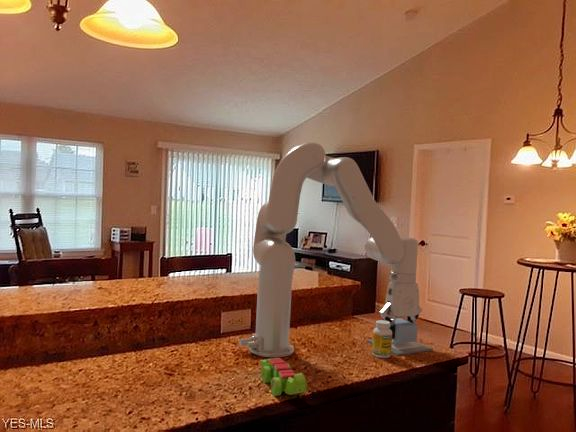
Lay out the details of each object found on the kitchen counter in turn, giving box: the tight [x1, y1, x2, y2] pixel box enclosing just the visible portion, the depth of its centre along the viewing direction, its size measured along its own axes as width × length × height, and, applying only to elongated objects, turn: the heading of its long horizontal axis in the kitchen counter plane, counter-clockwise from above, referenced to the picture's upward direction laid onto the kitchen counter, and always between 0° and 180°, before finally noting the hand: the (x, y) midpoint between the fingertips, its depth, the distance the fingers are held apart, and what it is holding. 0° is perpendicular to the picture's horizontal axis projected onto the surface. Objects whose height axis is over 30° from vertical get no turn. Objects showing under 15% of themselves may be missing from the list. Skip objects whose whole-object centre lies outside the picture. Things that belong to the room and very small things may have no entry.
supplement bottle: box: [371, 319, 392, 359], centre depth 137 cm, size 5×5×10 cm
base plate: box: [366, 338, 434, 357], centre depth 147 cm, size 14×14×1 cm
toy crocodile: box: [260, 357, 308, 397], centre depth 111 cm, size 20×7×6 cm, turn 20°
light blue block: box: [392, 317, 419, 343], centre depth 147 cm, size 6×8×5 cm
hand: (399, 335), depth 147 cm, fingers closed on light blue block, 6 cm apart
